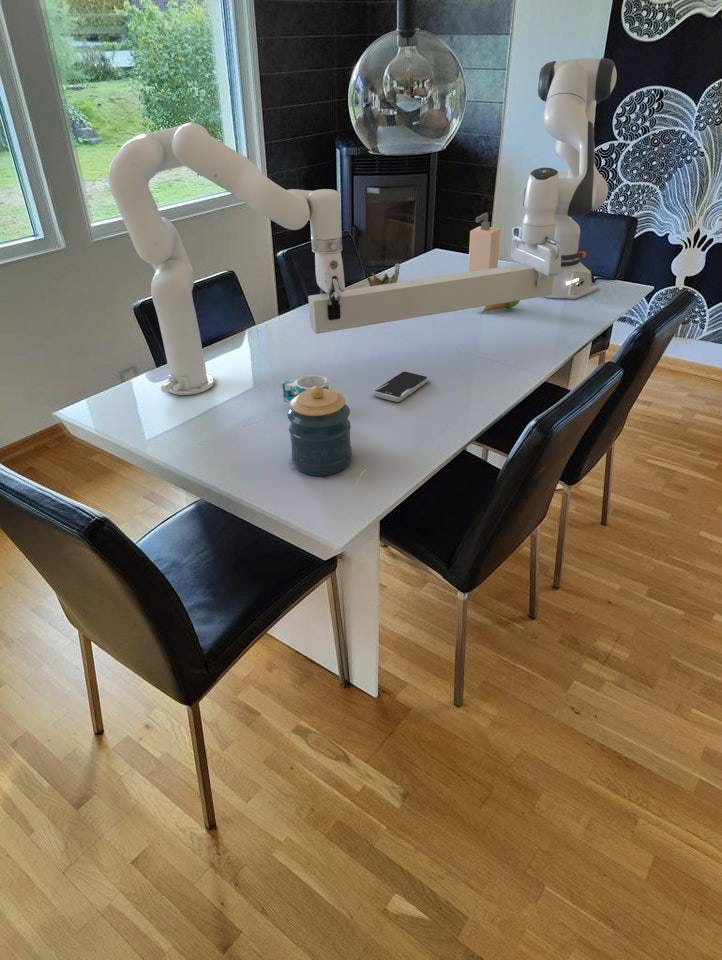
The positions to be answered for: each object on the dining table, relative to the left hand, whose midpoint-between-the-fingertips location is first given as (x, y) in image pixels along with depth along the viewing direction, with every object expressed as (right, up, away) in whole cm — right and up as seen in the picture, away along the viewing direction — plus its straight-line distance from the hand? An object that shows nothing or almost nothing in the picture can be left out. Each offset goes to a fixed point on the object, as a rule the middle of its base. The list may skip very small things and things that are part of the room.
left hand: (330, 315), depth 175 cm
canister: (0, -39, -30) cm, 49 cm away
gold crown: (+18, +26, +71) cm, 77 cm away
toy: (+54, +16, +46) cm, 73 cm away
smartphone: (+18, -19, 0) cm, 27 cm away
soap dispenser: (+54, +36, +83) cm, 105 cm away
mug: (-5, -26, -9) cm, 28 cm away
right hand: (+57, +13, +17) cm, 61 cm away
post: (+29, +4, +10) cm, 31 cm away
